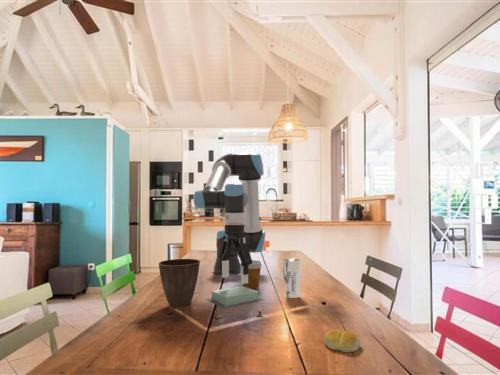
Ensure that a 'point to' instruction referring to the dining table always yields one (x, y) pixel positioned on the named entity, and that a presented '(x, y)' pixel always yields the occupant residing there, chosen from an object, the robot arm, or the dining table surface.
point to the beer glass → (292, 277)
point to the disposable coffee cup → (253, 275)
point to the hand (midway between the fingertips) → (234, 280)
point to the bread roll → (342, 340)
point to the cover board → (234, 295)
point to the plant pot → (179, 280)
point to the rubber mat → (231, 305)
